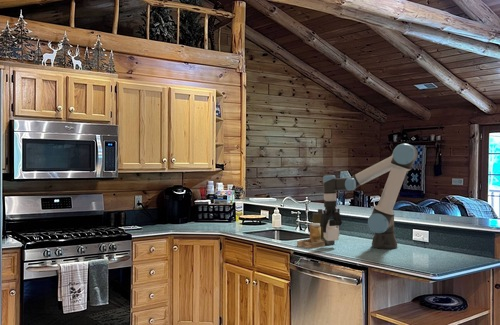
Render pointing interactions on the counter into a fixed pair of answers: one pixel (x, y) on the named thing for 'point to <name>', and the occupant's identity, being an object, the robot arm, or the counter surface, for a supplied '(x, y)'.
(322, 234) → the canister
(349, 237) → the counter surface
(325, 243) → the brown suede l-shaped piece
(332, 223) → the medicine bottle
